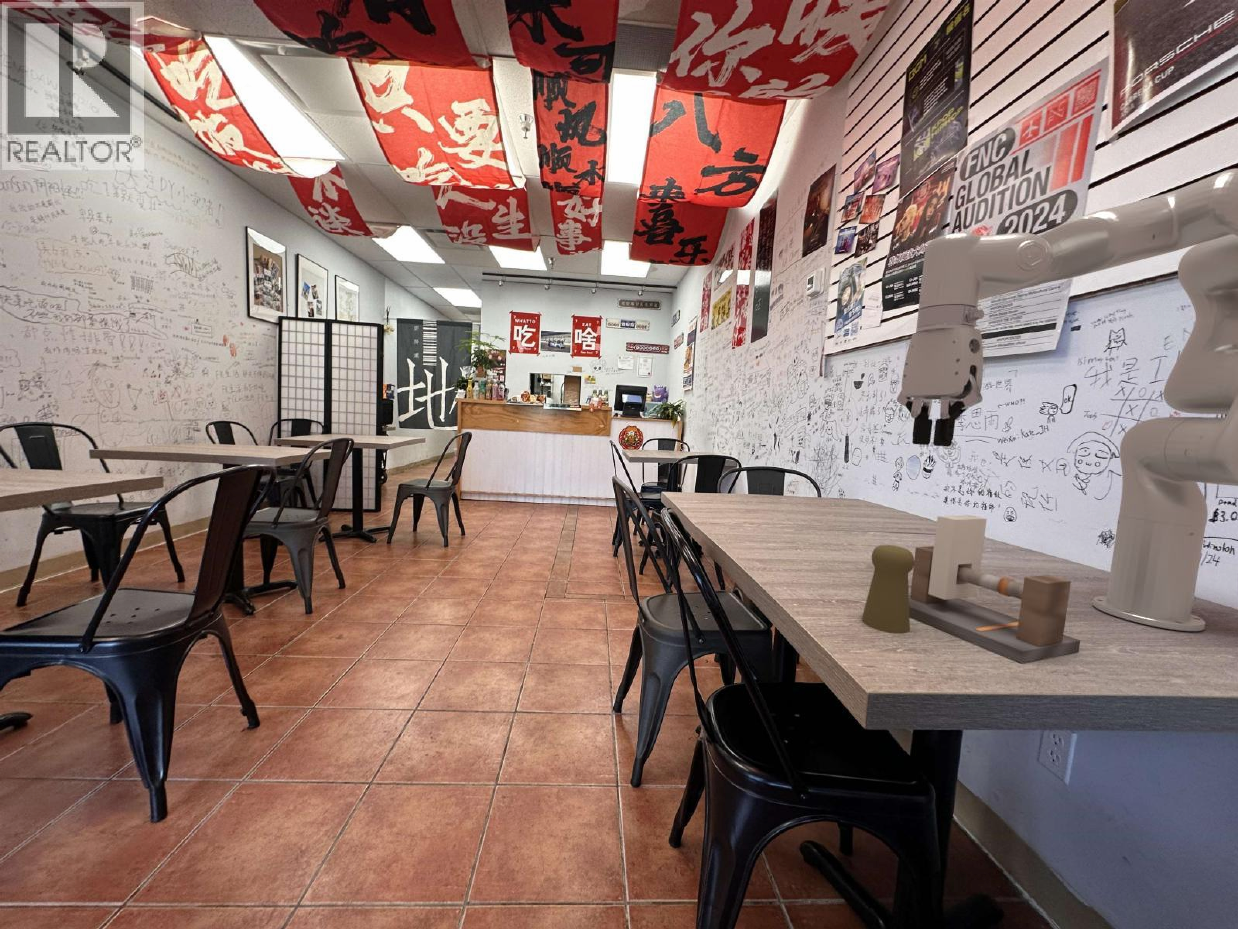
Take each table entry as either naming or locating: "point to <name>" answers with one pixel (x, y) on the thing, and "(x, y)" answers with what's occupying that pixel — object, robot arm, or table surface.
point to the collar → (956, 555)
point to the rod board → (991, 629)
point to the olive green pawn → (889, 590)
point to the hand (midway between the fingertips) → (931, 444)
